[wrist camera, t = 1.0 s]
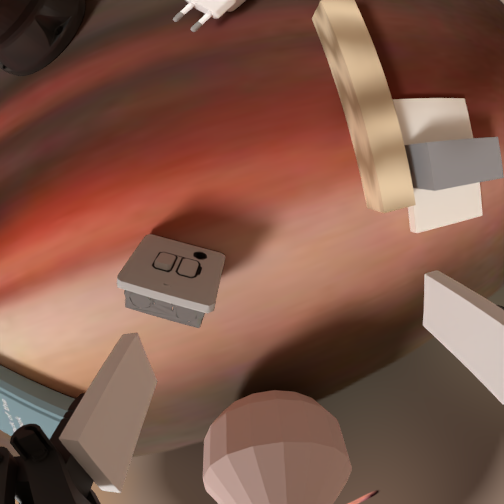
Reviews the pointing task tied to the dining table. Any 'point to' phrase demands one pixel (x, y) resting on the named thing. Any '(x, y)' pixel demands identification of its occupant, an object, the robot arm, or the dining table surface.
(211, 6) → the power adapter
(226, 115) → the dining table surface
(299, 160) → the dining table surface
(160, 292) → the electrical switch
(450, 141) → the fulcrum
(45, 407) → the book
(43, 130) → the dining table surface
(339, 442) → the vase
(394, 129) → the beam
